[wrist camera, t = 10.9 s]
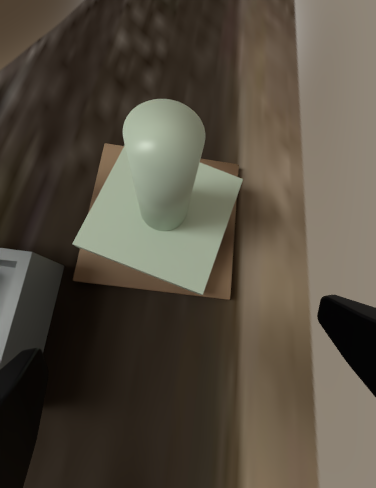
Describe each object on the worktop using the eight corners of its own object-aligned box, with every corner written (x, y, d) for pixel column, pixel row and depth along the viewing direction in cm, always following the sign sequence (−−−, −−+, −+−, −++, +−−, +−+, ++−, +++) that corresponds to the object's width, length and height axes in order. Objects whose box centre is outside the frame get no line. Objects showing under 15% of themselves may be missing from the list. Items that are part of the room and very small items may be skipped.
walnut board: (227, 299, 18) (230, 299, 17) (75, 281, 17) (72, 280, 17) (236, 168, 21) (238, 164, 20) (106, 148, 20) (104, 143, 20)
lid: (199, 295, 17) (238, 282, 8) (80, 249, 17) (-9, 186, 8) (236, 189, 20) (298, 90, 11) (132, 148, 20) (107, 16, 11)
